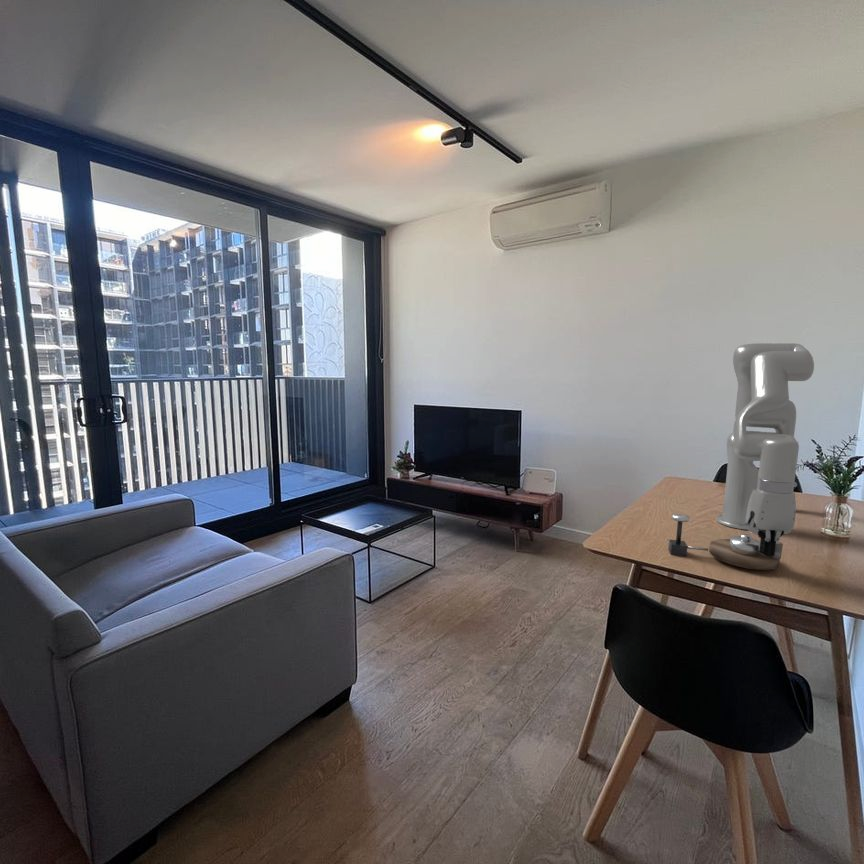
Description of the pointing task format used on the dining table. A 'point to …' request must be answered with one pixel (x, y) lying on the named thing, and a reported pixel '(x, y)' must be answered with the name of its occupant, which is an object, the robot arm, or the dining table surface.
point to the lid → (745, 545)
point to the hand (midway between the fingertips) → (766, 554)
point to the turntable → (758, 562)
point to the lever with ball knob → (677, 545)
